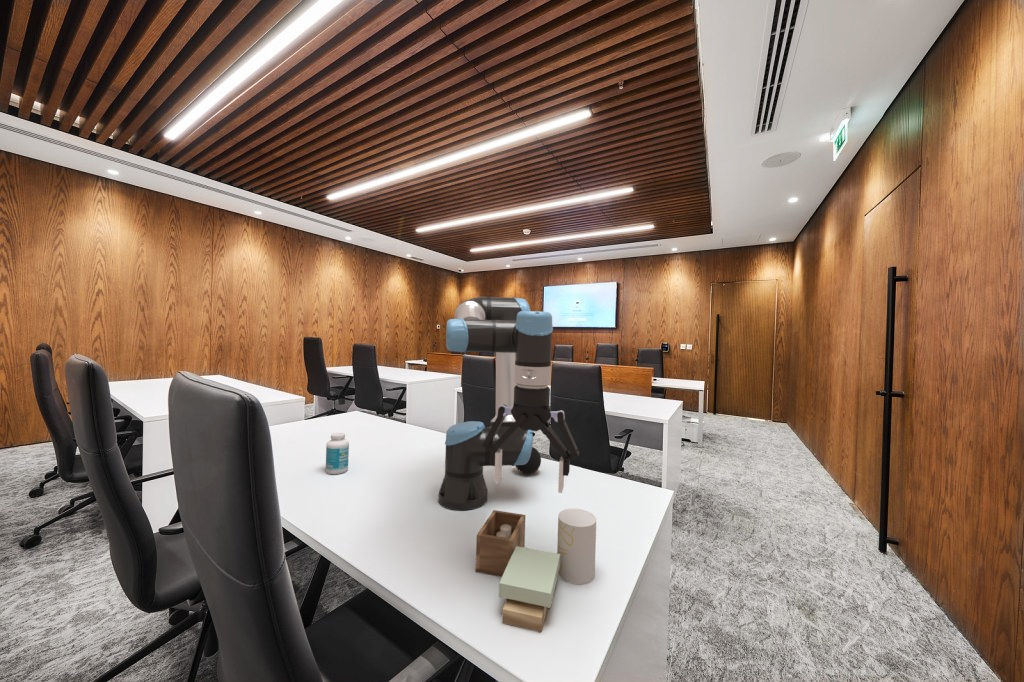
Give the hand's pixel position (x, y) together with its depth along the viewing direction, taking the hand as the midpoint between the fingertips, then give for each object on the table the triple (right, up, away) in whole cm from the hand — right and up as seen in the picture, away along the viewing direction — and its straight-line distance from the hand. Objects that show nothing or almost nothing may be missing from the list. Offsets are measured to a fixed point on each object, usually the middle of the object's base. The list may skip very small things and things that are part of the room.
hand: (528, 485), depth 79 cm
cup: (+10, -20, +2) cm, 23 cm away
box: (-6, -19, +6) cm, 21 cm away
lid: (0, -17, -6) cm, 18 cm away
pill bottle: (-67, -17, +56) cm, 89 cm away
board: (0, -20, -6) cm, 20 cm away
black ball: (+2, -19, +60) cm, 63 cm away
